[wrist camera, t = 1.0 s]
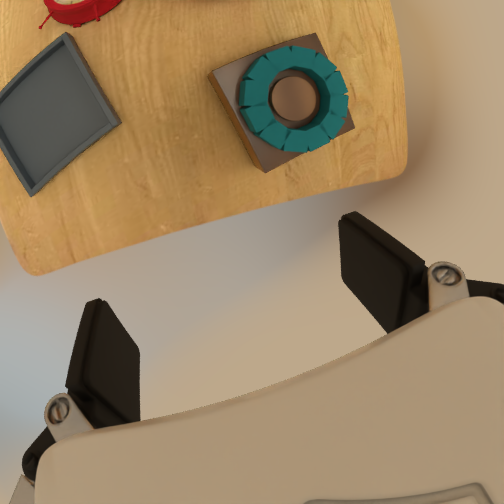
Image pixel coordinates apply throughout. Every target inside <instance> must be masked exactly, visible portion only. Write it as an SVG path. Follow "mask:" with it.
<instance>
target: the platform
mask: <svg viewBox="0 0 504 504" xmlns="http://www.w3.org/2000/svg"><path fill="white" fill-rule="evenodd" d="M292 45H294V46H299V47H304V48H308V49H313V50H316V53H318V52H320V53H321V54H322V55H323V56H325V57H326V58H327V56H326V53H325V51H324V49H323V47H322V45H321V43H320V41H319V39H318V37H317V35H316V33H313V34H309V35H305V36H302V37H299V38H295V39H292V40H289V41H286V42H283V43H280V44H277V45H274V46H271V47H268V48H266V49H263V50H260V51H258V52H255V53H253V54H250V55H247V56H245V57H243V58H240V59H238V60H235V61H233V62H231V63H229V64H226V65H224V66H222V67H220V68H217V69H215V70H213V71H212V72H211V73H210V74H209V75H208V76H207V77H208V79H209V81H210V82H211V84H212V86H213V88H214V90H215V91H216V93H217V95H218V97H219V99H220V101H221V102H222V104H223V106H224V108H225V110H226V112H227V114H228V115H229V117H230V119H231V121H232V123H233V125H234V127H235V129H236V130H237V132H238V134H239V136H240V138H241V140H242V142H243V144H244V146H245V148H246V150H247V152H248V154H249V155H250V157H251V159H252V161H253V163H254V165H255V166H256V167H257V168H258V169H260V170H261V171H263V172H264V173H267V172H269V171H271V170H272V169H274V168H276V167H278V166H280V165H282V164H284V163H286V162H288V161H290V160H291V159H293V158H295V157H297V156H299V155H301V154H303V153H305V152H291V151H283V150H280V149H277V148H275V147H272V146H271V145H269V144H268V143H266V142H265V141H263V140H262V139H260V138H259V137H257V136H256V135H254V134H253V133H254V132H252V131H250V129H249V127H248V125H247V123H246V121H245V119H244V117H243V115H242V114H241V112H240V109H241V108H243V107H245V106H239V93H240V82H241V81H244V79H242V77H243V75H244V74H245V73H246V71H247V70H248V69H249V67H250V66H251V65H252V63H253V62H254V61H255V60H256V59H258V58H259V57H260V56H262V55H263V54H265V53H268V52H271V51H273V50H276V49H279V48H282V47H285V46H289V47H290V46H292ZM327 59H328V58H327ZM268 105H269V107H270V109H271V111H272V113H273V115H274V118H275V119H276V120H277V121H279V122H280V123H281V124H283V125H284V126H286V127H287V128H293V129H298V128H300V127H302V126H304V125H307V124H309V123H311V121H312V120H313V118H314V117H315V115H316V114H317V113H318V111H319V106H320V93H319V91H318V89H317V86H316V84H315V82H314V80H313V79H311V78H310V77H309V76H308V75H306V74H305V73H304V72H302V71H298V70H292V69H286V70H283V71H280V72H278V74H277V75H276V76H275V78H274V79H273V81H272V82H271V83H270V85H269V89H268ZM341 118H342V117H341ZM342 119H343V120H344V121H345V123H344V124H343V126H342V127H341V129H340V130H339V132H338V133H337V135H336V136H335V137H337V136H340V135H342V134H344V133H346V132H348V131H350V130H352V129H354V128H355V126H354V123H353V121H352V118H351V115H350V112H349V109H348V108H347V117H346V118H342ZM329 140H331V139H329ZM307 151H308V150H307Z"/></svg>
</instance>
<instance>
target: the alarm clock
mask: <svg viewBox="0 0 504 504" xmlns="http://www.w3.org/2000/svg"><path fill="white" fill-rule="evenodd" d="M120 1H121V0H44V3H45V5H46V6H47V7H48V10H49V13H50V14H49V15H48V17H47V18H46V20H45V21H44V22H43V23H42V25H41V26H39V29H42V26H43V25H44V23H45V22H46V21H47V20H48V19H49V18H50V16H52V17H53V18H54V19H55V20H56V21H58V22H60V23H63V24H71V25H72V24H73V28H76V27H81V26H80V25H81V23H85V22H88V21H91V20H93V19H96V18H97V19H96V21H97V22H98V21H100V18H99V17H100V16H102V15H103V14H105V13H107V12H108V11H110V10H111V9H112V8H114V7H115V6H116V5H117V4H118V3H119V2H120Z"/></svg>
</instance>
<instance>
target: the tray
mask: <svg viewBox="0 0 504 504" xmlns="http://www.w3.org/2000/svg"><path fill="white" fill-rule="evenodd" d="M121 123H122V122H121V120H120V119H119V117H118V115H117V114H116V112H115V110H114V109H113V107H112V105H111V104H110V102H109V100H108V99H107V97H106V95H105V94H104V92H103V90H102V88H101V87H100V85H99V83H98V82H97V80H96V78H95V76H94V75H93V73H92V71H91V69H90V68H89V66H88V64H87V62H86V61H85V59H84V57H83V55H82V53H81V52H80V50H79V48H78V46H77V44H76V42H75V41H74V39H73V37H72V35H70V34H68V33H67V32H65V33H64V34H62V35H61V36H60V37H58V38H57V39H56V40H55V41H53V42H52V43H51V44H50V45H48V46H47V47H46V48H45V49H44V50H43V51H41V52H40V53H39V54H38V55H37V56H36V57H35V58H33V59H32V60H31V61H30V62H29V63H28V64H27V65H26V66H25V67H24V68H23V69H22V70H21V71H20V72H19V73H18V74H17V75H16V76H15V77H14V78H13V79H12V80H11V81H10V82H9V83H8V84H7V85H6V86H5V87H4V88H3V90H2V91H1V92H0V148H1V150H2V151H3V153H4V155H5V157H6V158H7V160H8V162H9V164H10V165H11V167H12V169H13V170H14V172H15V174H16V175H17V177H18V178H19V180H20V182H21V183H22V185H23V186H24V188H25V189H26V191H27V192H28V194H29V195H30V197H32V196H34V195H35V194H36V193H38V192H39V191H40V190H41V189H42V188H43V187H44V186H45V185H46V184H47V183H48V182H49V181H50V180H51V179H52V178H53V177H54V176H56V175H57V174H58V173H59V172H60V171H61V170H62V169H63V168H65V167H66V166H67V165H68V164H69V163H70V162H71V161H73V160H74V159H75V158H76V157H77V156H79V155H80V154H81V153H82V152H84V151H85V150H86V149H87V148H89V147H90V146H91V145H92V144H94V143H95V142H96V141H98V140H99V139H100V138H102V137H103V136H104V135H106V134H107V133H108V132H110V131H111V130H112V129H114V128H115V127H117V126H118V125H119V124H121Z"/></svg>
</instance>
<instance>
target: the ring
mask: <svg viewBox="0 0 504 504" xmlns="http://www.w3.org/2000/svg"><path fill="white" fill-rule="evenodd" d="M336 68H337V67H336V66H335V65H334V64H333V63H332V62H330V61H329V60H328V59H327V58H326V57H325V56H323V55H322V54H321V53H320V52H318V53H316V50H313V49H308V48H304V47H299V46H294V45H292V46H290V47H289V46H285V47H282V48H279V49H276V50H273V51H271V52H268V53H265V54H263V55H262V56H260V57H259V58H258V59H256V60H255V61H254V62H253V63H252V65H251V66H250V67H249V69H248V70H247V71H246V73H245V74H244V75H243V77H242V79H244V81H241V82H240V93H239V106H245V107H243V108H241V109H240V112H241V114H242V115H243V117H244V119H245V121H246V123H247V125H248V127H249V129H250V131H252V132H254V133H253V134H254V135H256V136H257V137H259V138H260V139H262V140H263V141H265V142H266V143H268V144H269V145H271V146H272V147H275V148H277V149H280V150H283V151H291V152H306V153H307V150H308V151H310V152H311V151H313V150H315V149H317V148H319V147H321V146H323V145H325V144H327V143H329V142H330V140H329V139H334V138H335V136H336V135H337V133H338V132H339V130H340V129H341V127H342V126H343V124H344V123H345V121H344V120H343V119H342V118H346V117H347V108H348V97H349V96H348V95H344V94H345V93H347V92H348V90H347V88H346V85H345V83H344V80H343V78H342V75H341V73H340V71H335V70H336ZM286 69H292V70H298V71H302V72H304V73H305V74H306V75H308V76H309V77H310V78H311V79H313V80H314V82H315V84H316V86H317V89H318V91H319V93H320V106H319V111H318V113H317V114H316V115H315V117H314V118H313V120H312V121H311V123H309V124H307V125H304V126H302V127H300V128H298V129H293V128H287V127H286V126H284V125H283V124H281V123H280V122H279V121H277V120H276V119H275V118H274V115H273V113H272V111H271V109H270V107H269V105H268V89H269V85H270V83H271V82H272V81H273V79H274V78H275V76H276V75H277V74H278V72H280V71H283V70H286ZM341 117H342V118H341Z"/></svg>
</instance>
